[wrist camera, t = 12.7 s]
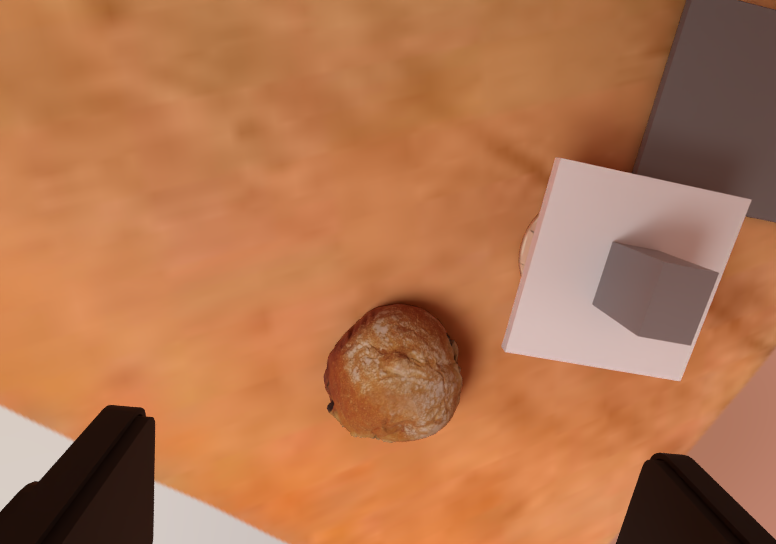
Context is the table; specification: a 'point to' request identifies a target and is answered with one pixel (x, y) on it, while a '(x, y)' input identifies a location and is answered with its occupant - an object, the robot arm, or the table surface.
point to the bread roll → (394, 375)
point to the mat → (718, 105)
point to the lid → (621, 270)
